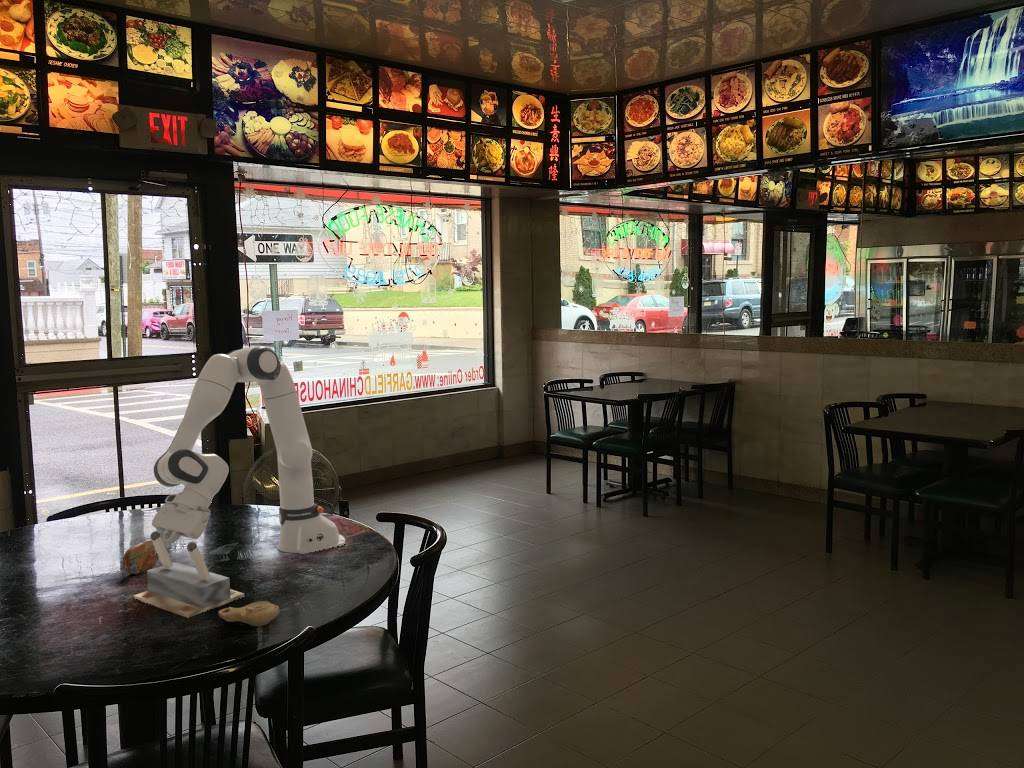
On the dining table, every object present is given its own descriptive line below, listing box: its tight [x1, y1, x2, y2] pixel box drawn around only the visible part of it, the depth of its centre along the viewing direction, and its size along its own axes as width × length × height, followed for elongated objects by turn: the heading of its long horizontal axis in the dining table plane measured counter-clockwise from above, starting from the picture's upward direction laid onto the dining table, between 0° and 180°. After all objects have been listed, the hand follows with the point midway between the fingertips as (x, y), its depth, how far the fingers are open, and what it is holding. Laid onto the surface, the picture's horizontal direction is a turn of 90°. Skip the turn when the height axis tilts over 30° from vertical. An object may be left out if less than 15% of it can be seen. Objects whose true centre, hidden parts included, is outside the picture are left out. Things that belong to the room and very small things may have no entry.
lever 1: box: [149, 531, 173, 568], centre depth 239 cm, size 3×3×12 cm
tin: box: [122, 539, 160, 575], centre depth 262 cm, size 15×3×8 cm, turn 168°
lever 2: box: [186, 541, 211, 580], centre depth 228 cm, size 3×3×12 cm
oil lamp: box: [217, 600, 280, 627], centre depth 217 cm, size 11×14×5 cm
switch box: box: [133, 561, 245, 619], centre depth 237 cm, size 18×26×7 cm
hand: (164, 546), depth 239 cm, fingers closed, pressing on lever 1
